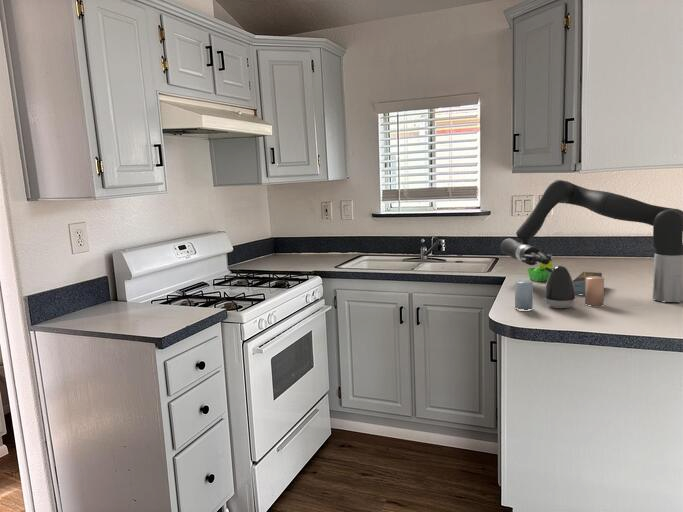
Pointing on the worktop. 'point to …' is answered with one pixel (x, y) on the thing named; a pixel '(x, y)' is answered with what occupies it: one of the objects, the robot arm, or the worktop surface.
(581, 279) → the beverage carton
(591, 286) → the terracotta canister
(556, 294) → the pump dispenser
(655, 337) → the worktop surface
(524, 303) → the slate-blue canister
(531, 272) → the fruit basket
